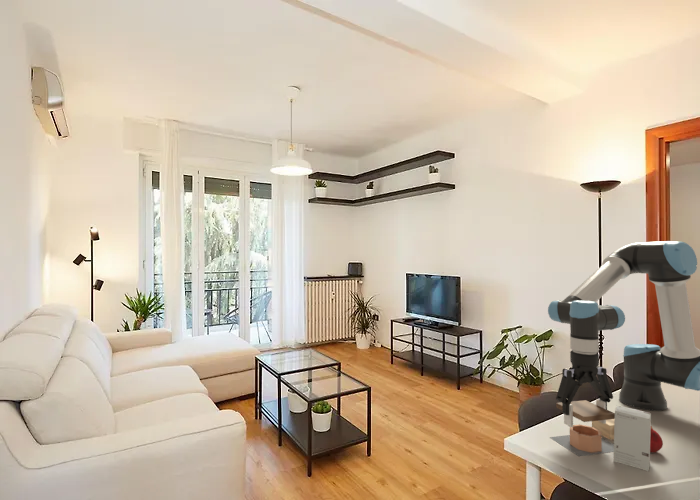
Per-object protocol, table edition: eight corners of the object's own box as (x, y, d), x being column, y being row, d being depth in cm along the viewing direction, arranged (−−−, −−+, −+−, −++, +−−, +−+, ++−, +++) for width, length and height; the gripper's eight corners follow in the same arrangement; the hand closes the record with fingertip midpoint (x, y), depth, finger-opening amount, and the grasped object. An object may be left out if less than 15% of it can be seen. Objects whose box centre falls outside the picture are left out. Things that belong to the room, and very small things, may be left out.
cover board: (585, 404, 125) (585, 400, 125) (615, 418, 114) (615, 413, 114) (556, 407, 123) (556, 402, 123) (583, 422, 112) (583, 416, 112)
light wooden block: (609, 429, 130) (609, 414, 130) (628, 439, 124) (628, 423, 124) (592, 431, 129) (591, 416, 129) (610, 441, 122) (609, 425, 122)
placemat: (591, 434, 127) (591, 432, 127) (624, 452, 115) (624, 450, 115) (549, 439, 124) (549, 437, 124) (578, 458, 112) (578, 456, 112)
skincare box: (613, 463, 109) (612, 410, 110) (615, 454, 114) (615, 404, 114) (650, 474, 104) (649, 418, 104) (651, 464, 109) (651, 411, 109)
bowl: (586, 437, 123) (586, 423, 123) (608, 450, 115) (608, 435, 115) (564, 440, 122) (563, 426, 122) (585, 453, 114) (584, 438, 114)
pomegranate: (667, 459, 111) (667, 431, 112) (644, 457, 113) (644, 429, 113) (655, 449, 117) (655, 422, 117) (634, 447, 118) (634, 421, 118)
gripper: (605, 346, 125) (606, 415, 125) (542, 350, 120) (543, 421, 120) (627, 352, 118) (627, 425, 117) (560, 356, 113) (561, 432, 112)
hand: (585, 423), depth 118 cm, fingers closed on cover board, 11 cm apart
